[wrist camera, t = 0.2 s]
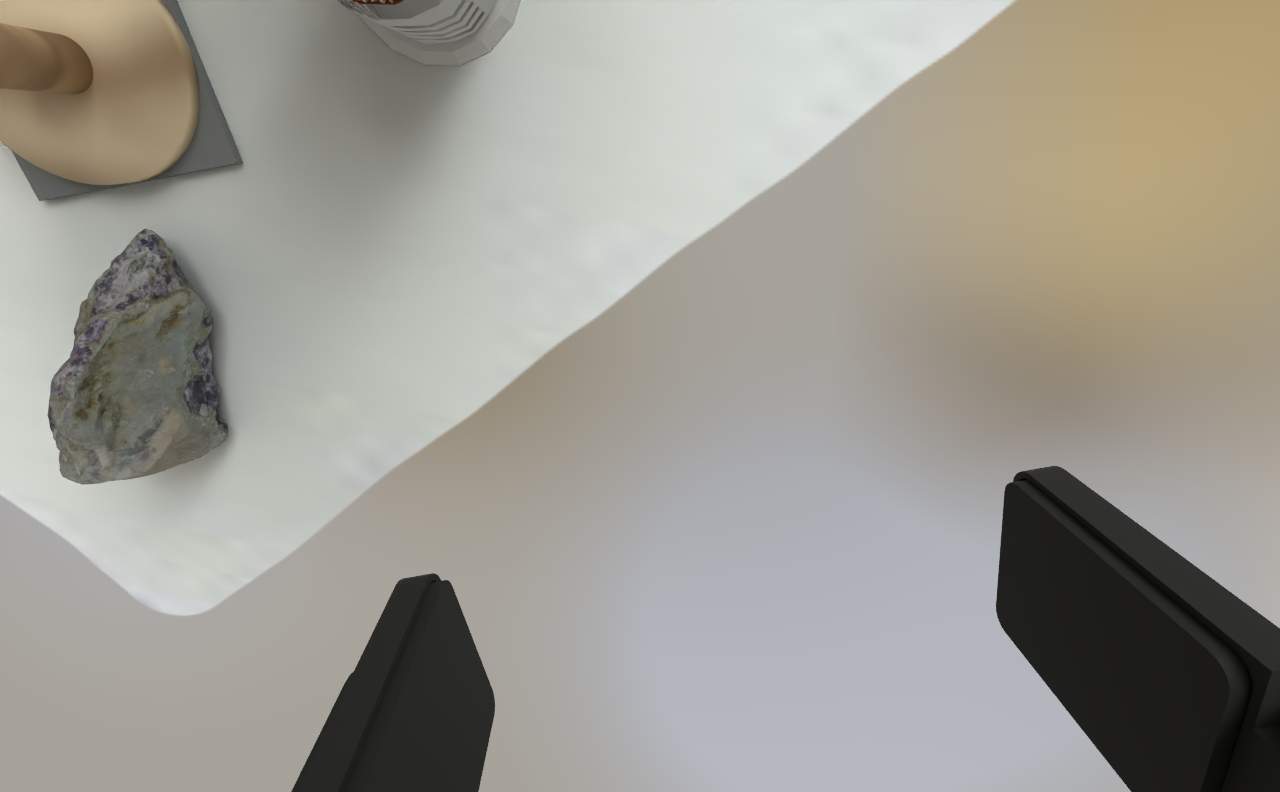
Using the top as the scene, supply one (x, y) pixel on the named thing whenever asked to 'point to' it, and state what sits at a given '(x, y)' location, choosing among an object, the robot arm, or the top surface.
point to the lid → (96, 88)
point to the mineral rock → (137, 373)
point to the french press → (438, 27)
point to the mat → (203, 153)
